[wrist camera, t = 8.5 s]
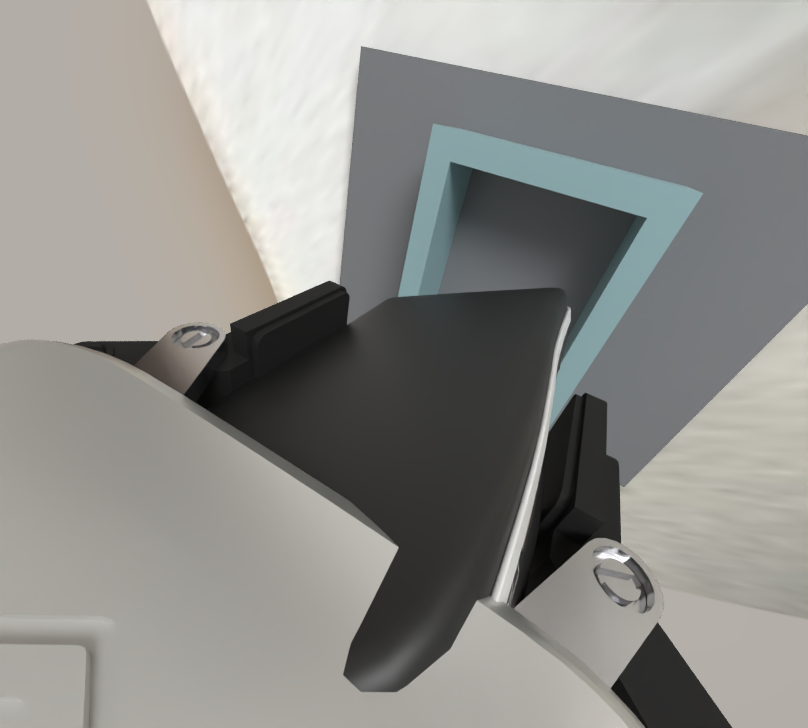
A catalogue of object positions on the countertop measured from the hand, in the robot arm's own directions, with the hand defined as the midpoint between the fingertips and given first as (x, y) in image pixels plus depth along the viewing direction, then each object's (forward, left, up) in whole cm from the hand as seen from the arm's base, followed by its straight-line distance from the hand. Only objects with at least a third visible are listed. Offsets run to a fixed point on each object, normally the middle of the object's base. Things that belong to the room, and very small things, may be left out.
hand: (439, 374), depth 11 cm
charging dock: (0, 0, -9) cm, 9 cm away
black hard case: (0, 0, -3) cm, 3 cm away
